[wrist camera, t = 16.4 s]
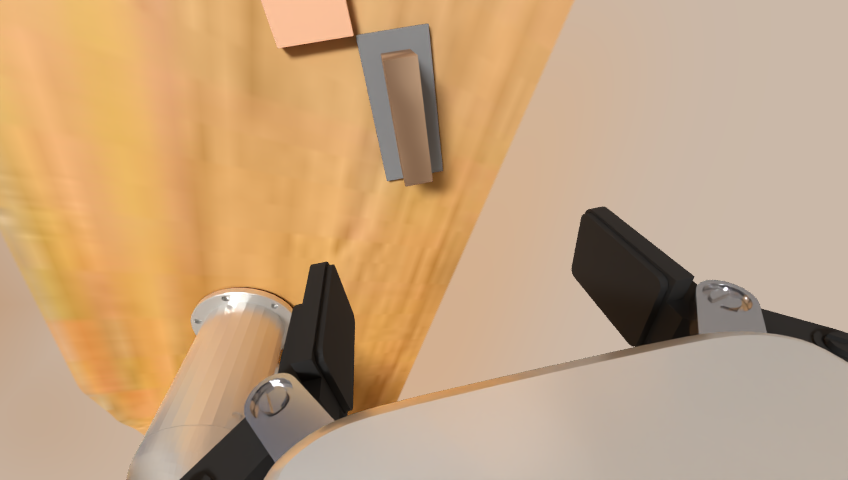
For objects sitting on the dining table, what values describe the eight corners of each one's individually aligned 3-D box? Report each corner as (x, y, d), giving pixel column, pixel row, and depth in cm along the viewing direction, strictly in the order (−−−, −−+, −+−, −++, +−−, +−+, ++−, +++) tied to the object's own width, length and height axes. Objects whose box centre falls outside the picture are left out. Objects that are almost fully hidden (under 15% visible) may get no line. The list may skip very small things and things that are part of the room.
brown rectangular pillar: (409, 48, 27) (417, 55, 23) (424, 160, 33) (432, 181, 29) (380, 53, 27) (383, 60, 23) (400, 165, 33) (405, 186, 29)
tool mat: (441, 168, 34) (442, 170, 34) (386, 178, 34) (387, 181, 33) (427, 23, 27) (428, 23, 26) (355, 35, 26) (355, 35, 26)
